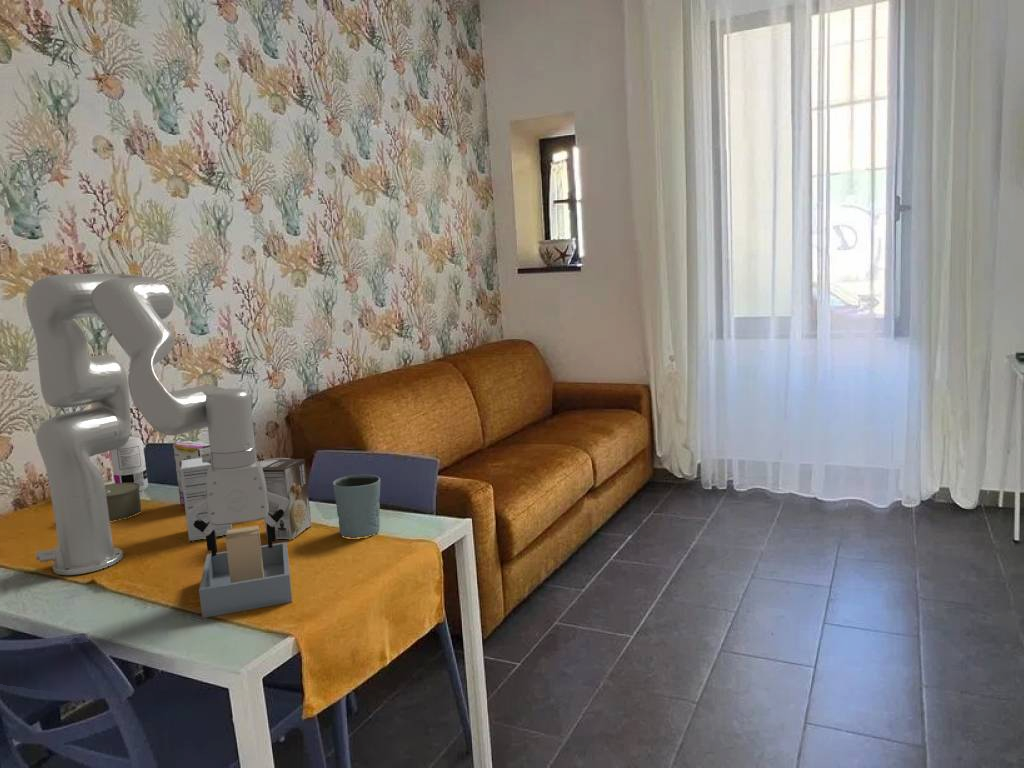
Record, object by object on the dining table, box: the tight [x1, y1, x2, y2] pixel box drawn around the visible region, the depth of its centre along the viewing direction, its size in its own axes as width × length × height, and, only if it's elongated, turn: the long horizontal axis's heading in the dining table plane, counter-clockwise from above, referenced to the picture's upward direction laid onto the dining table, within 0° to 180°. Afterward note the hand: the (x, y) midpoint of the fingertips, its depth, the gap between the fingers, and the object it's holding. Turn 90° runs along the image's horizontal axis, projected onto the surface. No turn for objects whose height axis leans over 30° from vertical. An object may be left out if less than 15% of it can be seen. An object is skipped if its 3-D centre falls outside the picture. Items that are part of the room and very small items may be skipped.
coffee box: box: [262, 458, 312, 540], centre depth 163 cm, size 9×6×16 cm
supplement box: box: [180, 458, 233, 541], centre depth 166 cm, size 10×9×17 cm
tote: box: [198, 541, 293, 619], centre depth 134 cm, size 15×18×5 cm
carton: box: [225, 525, 264, 583], centre depth 133 cm, size 6×6×10 cm
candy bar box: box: [172, 440, 210, 507], centre depth 187 cm, size 11×5×16 cm, turn 58°
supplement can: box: [110, 435, 149, 493], centre depth 206 cm, size 8×8×15 cm
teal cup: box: [332, 474, 381, 538], centre depth 161 cm, size 10×10×12 cm
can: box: [104, 483, 142, 521], centre depth 184 cm, size 12×12×7 cm
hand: (242, 549), depth 133 cm, fingers open, 9 cm apart
